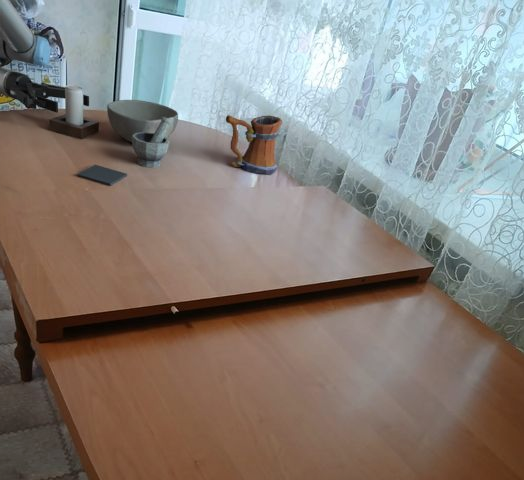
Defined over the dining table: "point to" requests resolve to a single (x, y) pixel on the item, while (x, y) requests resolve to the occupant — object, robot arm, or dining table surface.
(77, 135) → the frame
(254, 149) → the mug
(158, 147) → the mortar and pestle
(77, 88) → the beverage can
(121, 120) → the bowl
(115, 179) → the mat
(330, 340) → the dining table surface
